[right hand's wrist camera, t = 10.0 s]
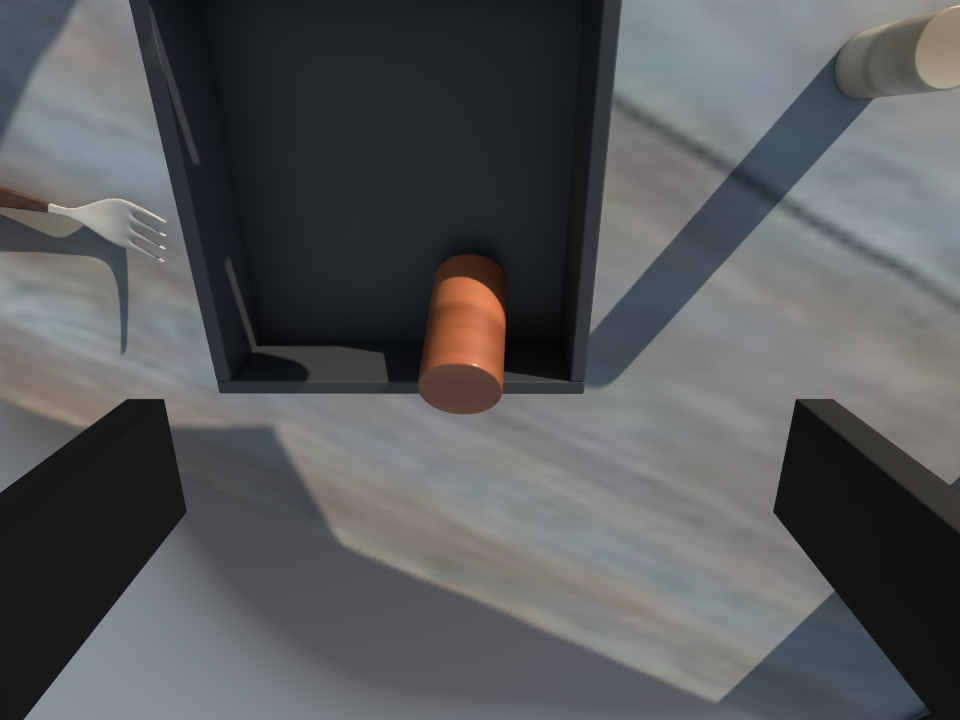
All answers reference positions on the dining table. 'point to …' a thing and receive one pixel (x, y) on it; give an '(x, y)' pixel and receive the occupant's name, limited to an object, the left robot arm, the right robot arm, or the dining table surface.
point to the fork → (95, 218)
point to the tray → (382, 177)
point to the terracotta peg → (465, 336)
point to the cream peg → (903, 57)
